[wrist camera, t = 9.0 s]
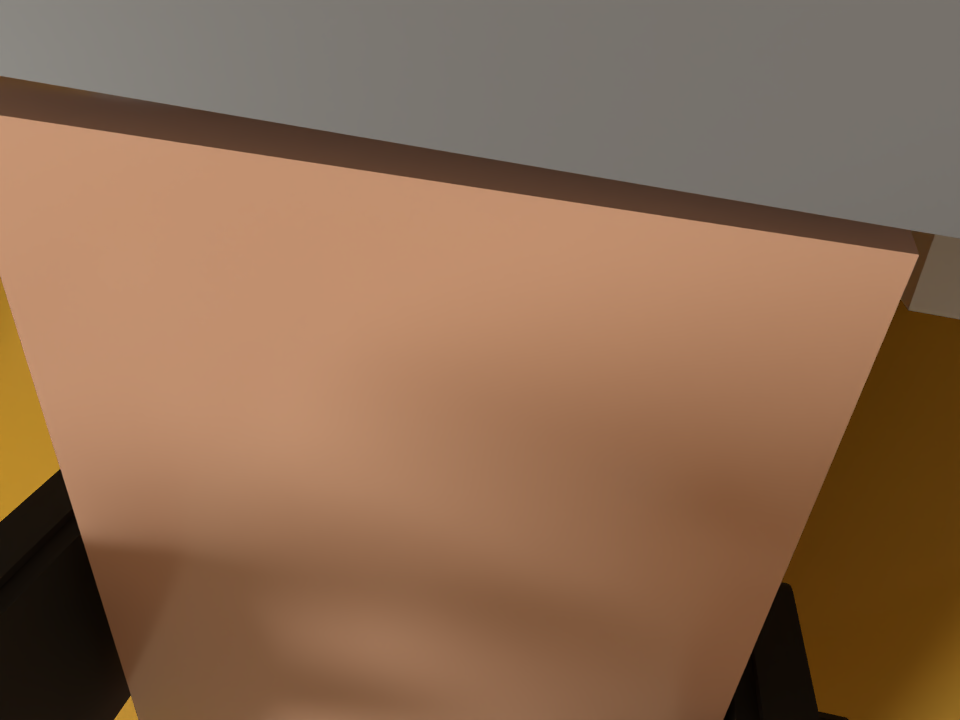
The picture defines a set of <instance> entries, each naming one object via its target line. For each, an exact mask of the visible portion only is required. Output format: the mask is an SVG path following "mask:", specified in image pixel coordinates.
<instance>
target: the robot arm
mask: <svg viewBox="0 0 960 720" xmlns="http://www.w3.org/2000/svg"><path fill="white" fill-rule="evenodd" d="M130 696H131V694H130V690H129V687H128V684H127V681H126V678H125V674H124V671H123V668H122V665H121V662H120V658H119V655H118V652H117V649H116V646H115V642H114V639H113V636H112V633H111V630H110V626H109V623H108V620H107V617H106V613H105V610H104V607H103V604H102V601H101V597H100V594H99V591H98V588H97V585H96V581H95V578H94V575H93V572H92V569H91V565H90V562H89V559H88V556H87V553H86V549H85V546H84V543H83V540H82V536H81V533H80V530H79V527H78V524H77V520H76V517H75V514H74V511H73V508H72V504H71V501H70V498H69V495H68V492H67V488H66V485H65V482H64V479H63V475H62V472H61V469H60V470H59V471H57V472H56V473H55V474H54V475H53V476H52V477H51V478H50V479H48V480H47V481H46V482H45V483H44V484H43V485H42V486H41V487H39V488H38V489H37V490H36V491H35V492H34V493H33V494H31V495H30V496H29V497H28V498H27V499H26V500H25V501H24V502H22V503H21V504H20V505H19V506H18V507H17V508H16V509H15V510H13V511H12V512H11V513H10V514H9V515H8V516H7V517H5V518H4V519H3V520H2V521H1V522H0V720H114V719H115V717H116V716H117V714H118V713H119V711H120V710H121V709H122V707H123V706H124V704H125V703H126V701H127V700H128V699H129V697H130ZM723 720H848V719H847V718H845V717H841V716H836V715H832V714H827V713H823V712H818V709H817V704H816V699H815V694H814V689H813V685H812V680H811V675H810V671H809V666H808V661H807V656H806V652H805V647H804V642H803V637H802V633H801V628H800V623H799V618H798V614H797V609H796V604H795V599H794V595H793V591H792V588H791V586H790V585H789V584H787V583H782V582H781V584H780V586H779V589H778V591H777V593H776V596H775V598H774V600H773V603H772V605H771V608H770V610H769V612H768V615H767V617H766V619H765V622H764V624H763V627H762V629H761V631H760V634H759V636H758V638H757V641H756V643H755V646H754V648H753V650H752V653H751V655H750V657H749V660H748V662H747V665H746V667H745V669H744V672H743V674H742V676H741V679H740V681H739V684H738V686H737V688H736V691H735V693H734V695H733V698H732V700H731V702H730V705H729V707H728V710H727V712H726V714H725V717H724V719H723Z"/></svg>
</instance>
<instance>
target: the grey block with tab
mask: <svg viewBox="0 0 960 720" xmlns="http://www.w3.org/2000/svg"><path fill="white" fill-rule="evenodd" d="M0 76H4V77H10V78H16V79H22V80H28V81H34V82H40V83H45V84H51V85H57V86H63V87H69V88H75V89H81V90H87V91H93V92H99V93H104V94H110V95H116V96H122V97H128V98H134V99H140V100H146V101H152V102H158V103H163V104H169V105H175V106H181V107H187V108H193V109H199V110H205V111H211V112H217V113H222V114H228V115H234V116H240V117H246V118H252V119H258V120H264V121H270V122H276V123H281V124H287V125H293V126H299V127H305V128H311V129H317V130H323V131H329V132H334V133H340V134H346V135H352V136H358V137H364V138H370V139H376V140H382V141H388V142H393V143H399V144H405V145H411V146H417V147H423V148H429V149H435V150H441V151H447V152H452V153H458V154H464V155H470V156H476V157H482V158H488V159H494V160H500V161H506V162H511V163H517V164H523V165H529V166H535V167H541V168H547V169H553V170H559V171H565V172H570V173H576V174H582V175H588V176H594V177H600V178H606V179H612V180H618V181H624V182H629V183H635V184H641V185H647V186H653V187H659V188H665V189H671V190H677V191H683V192H688V193H694V194H700V195H706V196H712V197H718V198H724V199H730V200H736V201H742V202H747V203H753V204H759V205H765V206H771V207H777V208H783V209H789V210H795V211H801V212H806V213H812V214H818V215H824V216H830V217H836V218H842V219H848V220H854V221H860V222H865V223H871V224H877V225H883V226H889V227H895V228H901V229H907V230H911V232H912V235H913V238H914V241H915V244H916V247H917V250H918V253H919V257H918V259H917V261H916V264H915V266H914V268H913V271H912V273H911V276H910V278H909V280H908V283H907V285H906V287H905V290H904V292H903V295H902V297H901V301H902V302H903V303H904V305H905V306H906V308H907V309H908V310H910V311H916V312H921V313H927V314H932V315H938V316H944V317H949V318H955V319H960V0H0Z"/></svg>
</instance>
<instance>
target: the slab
mask: <svg viewBox="0 0 960 720" xmlns="http://www.w3.org/2000/svg"><path fill="white" fill-rule="evenodd" d="M918 257H919V253H918V250H917V247H916V244H915V241H914V238H913V235H912V232H911V230H907V229H901V228H895V227H889V226H883V225H877V224H871V223H865V222H860V221H854V220H848V219H842V218H836V217H830V216H824V215H818V214H812V213H806V212H801V211H795V210H789V209H783V208H777V207H771V206H765V205H759V204H753V203H747V202H742V201H736V200H730V199H724V198H718V197H712V196H706V195H700V194H694V193H688V192H683V191H677V190H671V189H665V188H659V187H653V186H647V185H641V184H635V183H629V182H624V181H618V180H612V179H606V178H600V177H594V176H588V175H582V174H576V173H570V172H565V171H559V170H553V169H547V168H541V167H535V166H529V165H523V164H517V163H511V162H506V161H500V160H494V159H488V158H482V157H476V156H470V155H464V154H458V153H452V152H447V151H441V150H435V149H429V148H423V147H417V146H411V145H405V144H399V143H393V142H388V141H382V140H376V139H370V138H364V137H358V136H352V135H346V134H340V133H334V132H329V131H323V130H317V129H311V128H305V127H299V126H293V125H287V124H281V123H276V122H270V121H264V120H258V119H252V118H246V117H240V116H234V115H228V114H222V113H217V112H211V111H205V110H199V109H193V108H187V107H181V106H175V105H169V104H163V103H158V102H152V101H146V100H140V99H134V98H128V97H122V96H116V95H110V94H104V93H99V92H93V91H87V90H81V89H75V88H69V87H63V86H57V85H51V84H45V83H40V82H34V81H28V80H22V79H16V78H10V77H4V76H0V277H1V280H2V283H3V286H4V289H5V293H6V296H7V299H8V302H9V305H10V309H11V312H12V315H13V318H14V321H15V325H16V328H17V331H18V334H19V338H20V341H21V344H22V347H23V350H24V354H25V357H26V360H27V363H28V366H29V370H30V373H31V376H32V379H33V382H34V386H35V389H36V392H37V395H38V398H39V402H40V405H41V408H42V411H43V415H44V418H45V421H46V424H47V427H48V431H49V434H50V437H51V440H52V443H53V447H54V450H55V453H56V456H57V459H58V463H59V466H60V469H61V472H62V475H63V479H64V482H65V485H66V488H67V492H68V495H69V498H70V501H71V504H72V508H73V511H74V514H75V517H76V520H77V524H78V527H79V530H80V533H81V536H82V540H83V543H84V546H85V549H86V553H87V556H88V559H89V562H90V565H91V569H92V572H93V575H94V578H95V581H96V585H97V588H98V591H99V594H100V597H101V601H102V604H103V607H104V610H105V613H106V617H107V620H108V623H109V626H110V630H111V633H112V636H113V639H114V642H115V646H116V649H117V652H118V655H119V658H120V662H121V665H122V668H123V671H124V674H125V678H126V681H127V684H128V687H129V690H130V694H131V697H132V700H133V703H134V707H135V710H136V713H137V716H138V719H139V720H723V719H724V717H725V714H726V712H727V710H728V707H729V705H730V702H731V700H732V698H733V695H734V693H735V691H736V688H737V686H738V684H739V681H740V679H741V676H742V674H743V672H744V669H745V667H746V665H747V662H748V660H749V657H750V655H751V653H752V650H753V648H754V646H755V643H756V641H757V638H758V636H759V634H760V631H761V629H762V627H763V624H764V622H765V619H766V617H767V615H768V612H769V610H770V608H771V605H772V603H773V600H774V598H775V596H776V593H777V591H778V589H779V586H780V584H781V582H782V579H783V577H784V574H785V572H786V570H787V567H788V565H789V563H790V560H791V558H792V555H793V553H794V551H795V548H796V546H797V544H798V541H799V539H800V536H801V534H802V532H803V529H804V527H805V525H806V522H807V520H808V517H809V515H810V513H811V510H812V508H813V506H814V503H815V501H816V499H817V496H818V494H819V491H820V489H821V487H822V484H823V482H824V480H825V477H826V475H827V472H828V470H829V468H830V465H831V463H832V461H833V458H834V456H835V453H836V451H837V449H838V446H839V444H840V442H841V439H842V437H843V434H844V432H845V430H846V427H847V425H848V423H849V420H850V418H851V415H852V413H853V411H854V408H855V406H856V404H857V401H858V399H859V397H860V394H861V392H862V389H863V387H864V385H865V382H866V380H867V378H868V375H869V373H870V370H871V368H872V366H873V363H874V361H875V359H876V356H877V354H878V351H879V349H880V347H881V344H882V342H883V340H884V337H885V335H886V332H887V330H888V328H889V325H890V323H891V321H892V318H893V316H894V314H895V311H896V309H897V306H898V304H899V302H900V299H901V297H902V295H903V292H904V290H905V287H906V285H907V283H908V280H909V278H910V276H911V273H912V271H913V268H914V266H915V264H916V261H917V259H918Z"/></svg>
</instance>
